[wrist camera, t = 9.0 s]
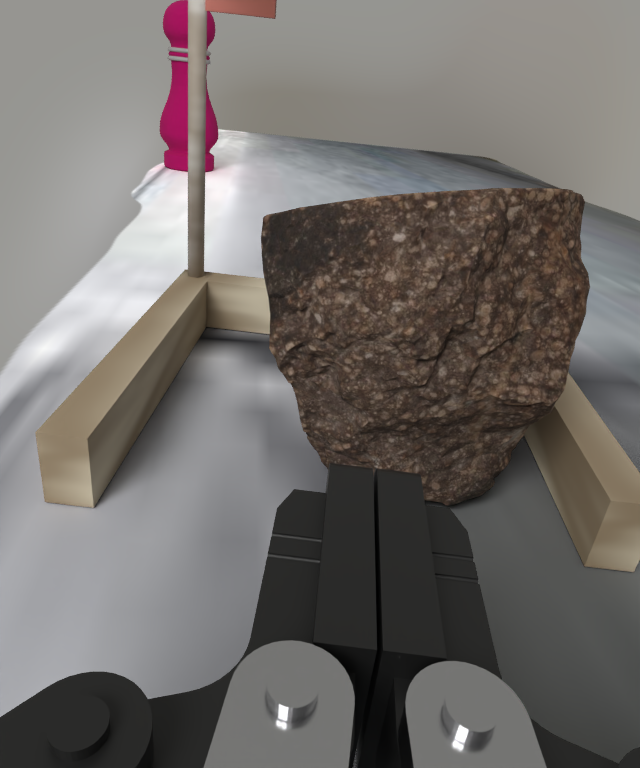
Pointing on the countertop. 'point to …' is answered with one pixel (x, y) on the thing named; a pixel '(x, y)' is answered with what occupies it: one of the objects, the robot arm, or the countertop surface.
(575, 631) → the countertop surface
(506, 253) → the rock
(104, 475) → the corral
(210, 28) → the pepper mill
